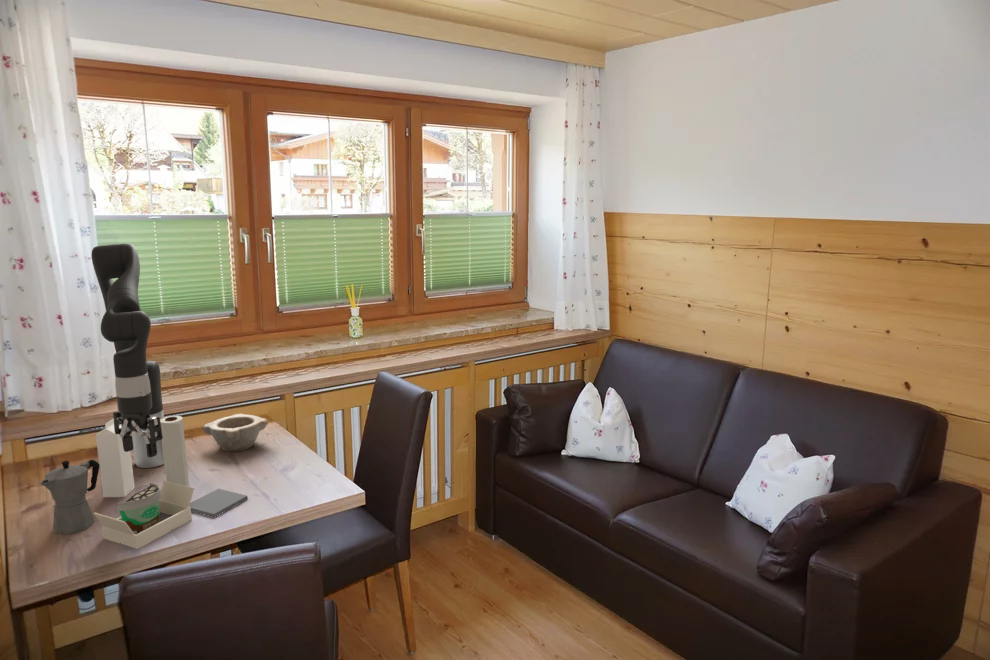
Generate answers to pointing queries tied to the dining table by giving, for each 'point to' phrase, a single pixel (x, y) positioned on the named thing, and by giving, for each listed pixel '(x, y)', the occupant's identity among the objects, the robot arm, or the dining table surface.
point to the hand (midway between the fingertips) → (140, 453)
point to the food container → (141, 509)
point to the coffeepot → (71, 496)
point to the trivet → (216, 502)
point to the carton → (170, 503)
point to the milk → (114, 463)
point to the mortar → (236, 431)
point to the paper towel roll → (174, 450)
